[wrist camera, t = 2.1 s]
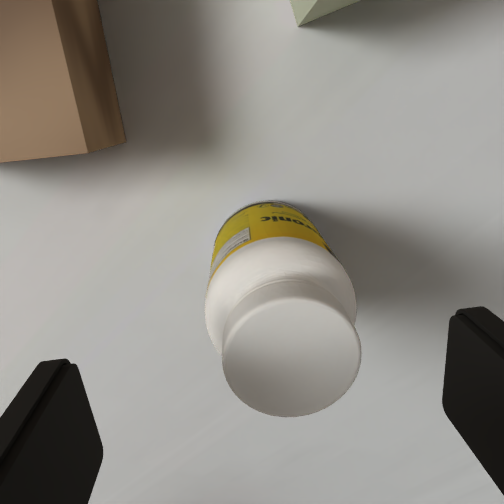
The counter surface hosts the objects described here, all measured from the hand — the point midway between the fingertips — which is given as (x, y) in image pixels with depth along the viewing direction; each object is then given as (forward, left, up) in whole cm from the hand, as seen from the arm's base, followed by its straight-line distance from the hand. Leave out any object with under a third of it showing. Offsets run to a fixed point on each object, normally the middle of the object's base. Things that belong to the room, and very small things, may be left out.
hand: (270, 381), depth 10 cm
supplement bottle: (0, -1, -11) cm, 11 cm away
